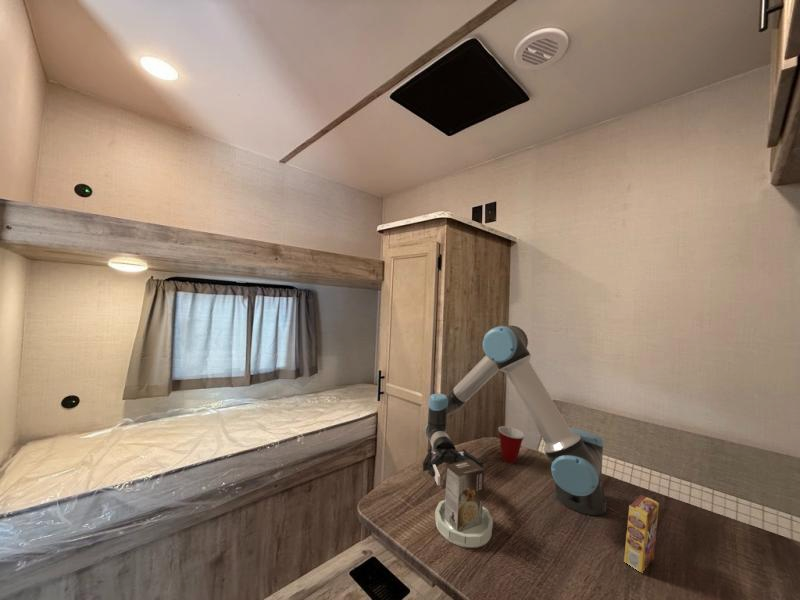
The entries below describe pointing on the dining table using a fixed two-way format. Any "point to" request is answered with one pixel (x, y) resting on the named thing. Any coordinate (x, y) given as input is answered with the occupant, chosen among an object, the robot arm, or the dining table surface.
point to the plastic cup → (510, 443)
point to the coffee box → (464, 495)
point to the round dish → (469, 536)
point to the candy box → (641, 533)
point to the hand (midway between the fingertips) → (460, 480)
